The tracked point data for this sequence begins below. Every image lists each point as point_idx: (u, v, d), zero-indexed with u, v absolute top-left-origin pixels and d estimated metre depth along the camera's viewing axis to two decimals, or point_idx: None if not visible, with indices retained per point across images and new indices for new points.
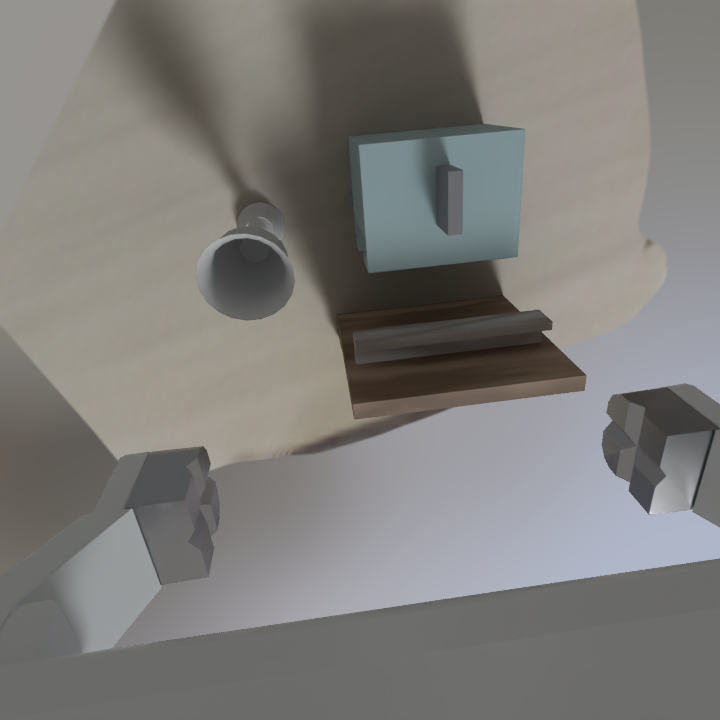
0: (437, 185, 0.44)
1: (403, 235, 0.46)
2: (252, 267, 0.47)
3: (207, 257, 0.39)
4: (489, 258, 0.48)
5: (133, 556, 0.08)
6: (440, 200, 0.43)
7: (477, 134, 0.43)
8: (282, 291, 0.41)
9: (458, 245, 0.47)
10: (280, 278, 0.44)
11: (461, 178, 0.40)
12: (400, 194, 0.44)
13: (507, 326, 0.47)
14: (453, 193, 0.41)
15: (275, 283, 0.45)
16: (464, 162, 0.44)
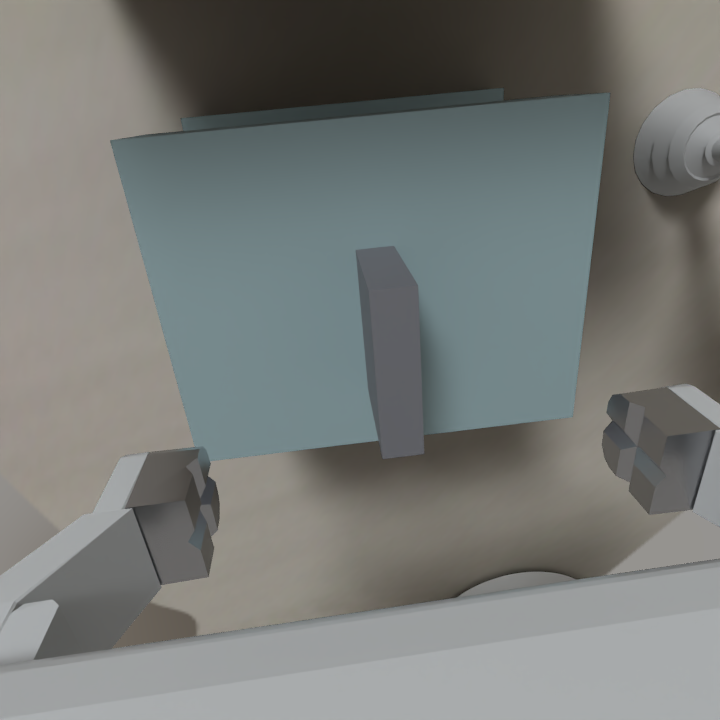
0: None
1: (490, 216, 0.16)
2: None
3: None
4: (209, 136, 0.14)
5: (133, 556, 0.08)
6: None
7: (309, 446, 0.19)
8: None
9: (322, 183, 0.15)
10: None
11: (385, 440, 0.14)
12: (489, 322, 0.17)
13: None
14: (406, 405, 0.14)
15: None
16: (333, 394, 0.18)
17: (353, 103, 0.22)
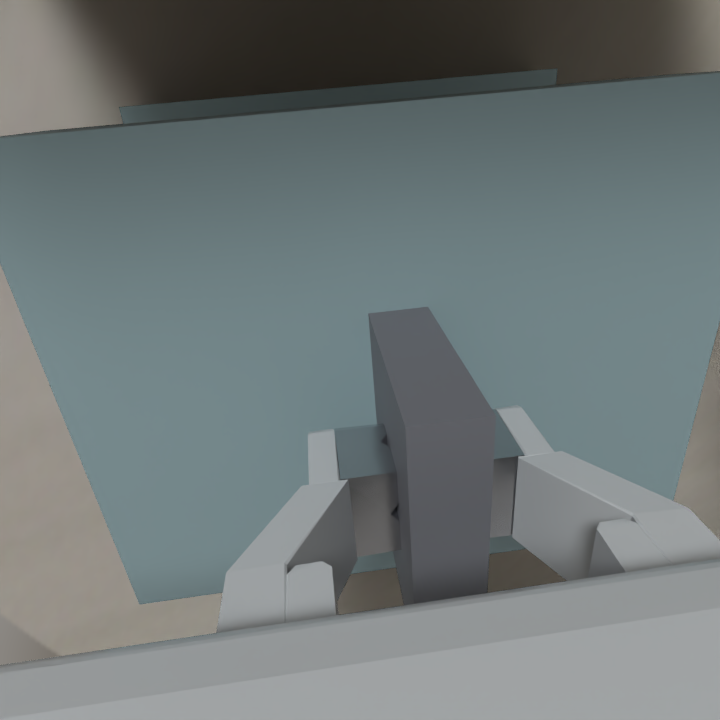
0: None
1: (577, 261, 0.10)
2: None
3: None
4: (124, 136, 0.08)
5: (345, 527, 0.08)
6: None
7: None
8: None
9: (316, 213, 0.09)
10: None
11: None
12: (563, 411, 0.12)
13: None
14: (461, 593, 0.08)
15: None
16: None
17: (356, 88, 0.16)
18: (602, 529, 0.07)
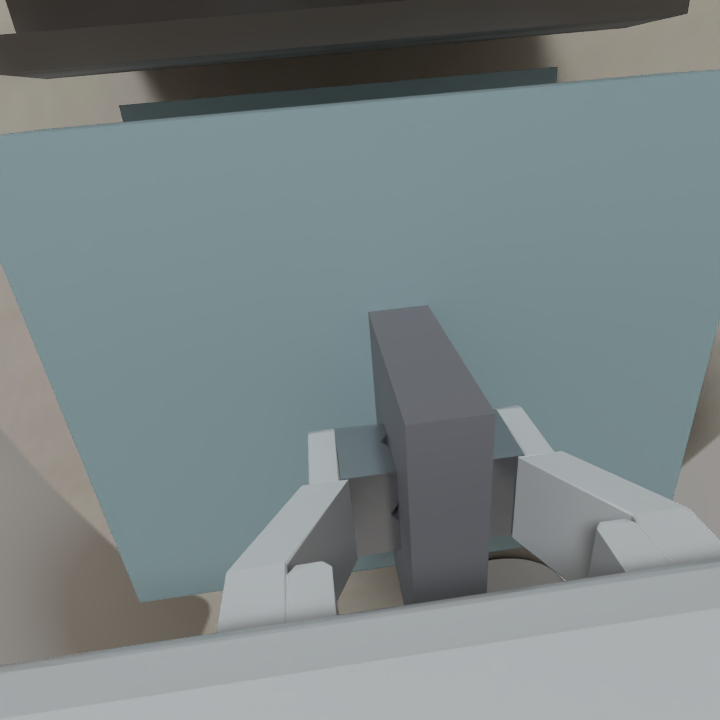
0: None
1: (577, 260, 0.10)
2: None
3: None
4: (124, 134, 0.08)
5: (345, 527, 0.08)
6: None
7: None
8: None
9: (316, 211, 0.09)
10: None
11: None
12: (563, 409, 0.12)
13: (162, 59, 0.13)
14: (460, 591, 0.08)
15: None
16: None
17: (356, 86, 0.16)
18: (602, 529, 0.07)
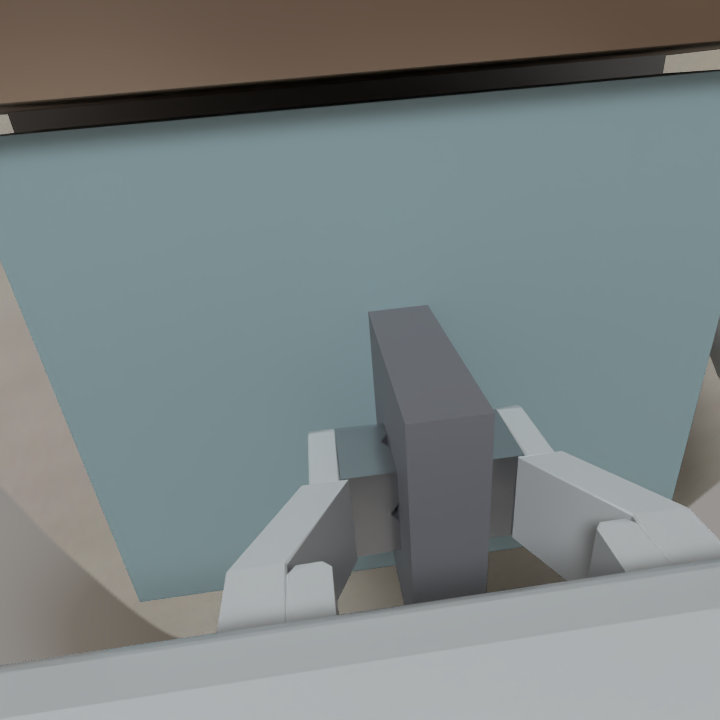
0: None
1: (576, 259, 0.10)
2: None
3: None
4: (125, 134, 0.08)
5: (346, 527, 0.08)
6: None
7: None
8: None
9: (316, 211, 0.09)
10: None
11: None
12: (563, 409, 0.12)
13: None
14: (460, 590, 0.08)
15: None
16: None
17: None
18: (602, 529, 0.07)
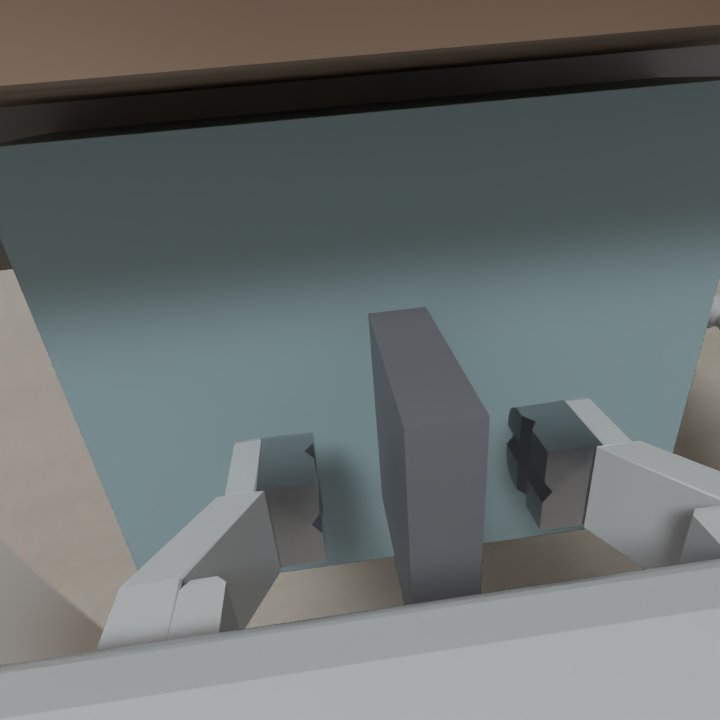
0: None
1: (570, 263, 0.11)
2: None
3: None
4: (132, 143, 0.09)
5: (263, 538, 0.08)
6: None
7: (299, 565, 0.14)
8: None
9: (318, 217, 0.10)
10: None
11: None
12: None
13: None
14: (456, 582, 0.09)
15: None
16: (333, 504, 0.13)
17: None
18: (699, 515, 0.07)
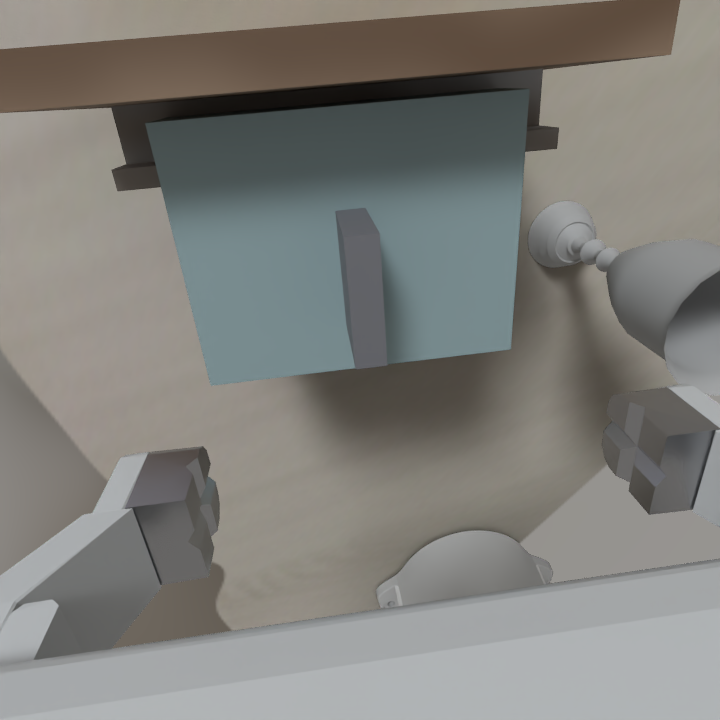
0: None
1: (439, 184, 0.20)
2: None
3: None
4: (221, 120, 0.18)
5: (133, 556, 0.08)
6: None
7: (299, 372, 0.24)
8: (682, 292, 0.23)
9: (308, 158, 0.19)
10: None
11: (358, 354, 0.19)
12: (442, 270, 0.22)
13: None
14: (373, 326, 0.19)
15: (647, 254, 0.26)
16: (318, 329, 0.23)
17: None
18: None
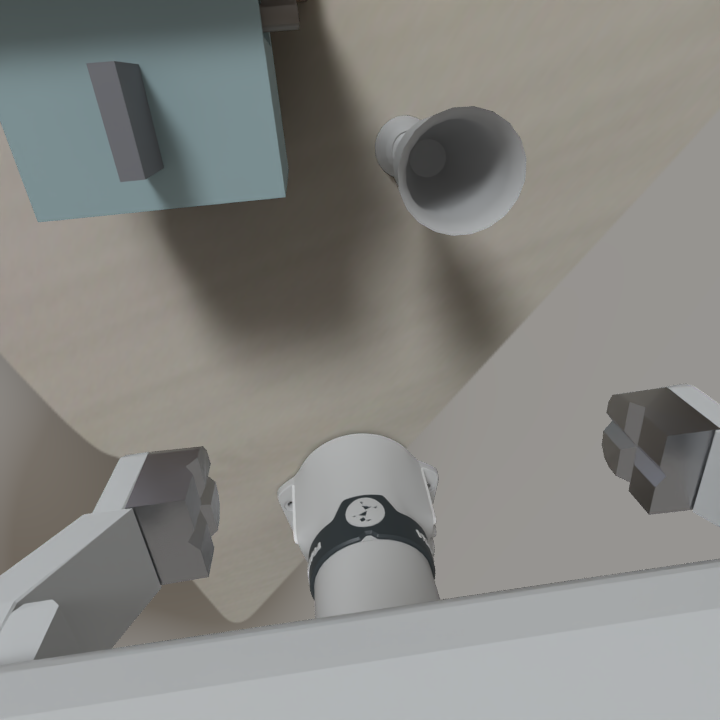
0: (154, 139, 0.27)
1: (196, 45, 0.26)
2: (435, 135, 0.35)
3: (503, 199, 0.30)
4: None
5: (133, 556, 0.08)
6: (144, 117, 0.26)
7: (111, 213, 0.29)
8: (413, 144, 0.29)
9: (85, 19, 0.25)
10: None
11: (119, 168, 0.25)
12: (212, 122, 0.28)
13: None
14: (126, 143, 0.24)
15: (413, 128, 0.32)
16: None
17: None
18: None
